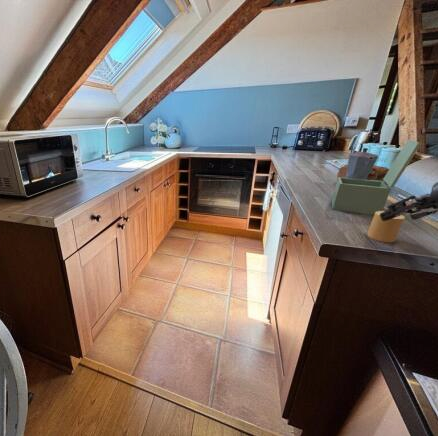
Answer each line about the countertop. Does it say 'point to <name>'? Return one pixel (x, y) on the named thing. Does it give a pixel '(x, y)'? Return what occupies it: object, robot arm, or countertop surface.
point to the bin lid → (401, 162)
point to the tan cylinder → (385, 228)
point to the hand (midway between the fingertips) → (396, 217)
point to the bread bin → (360, 195)
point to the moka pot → (360, 164)
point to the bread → (375, 174)
